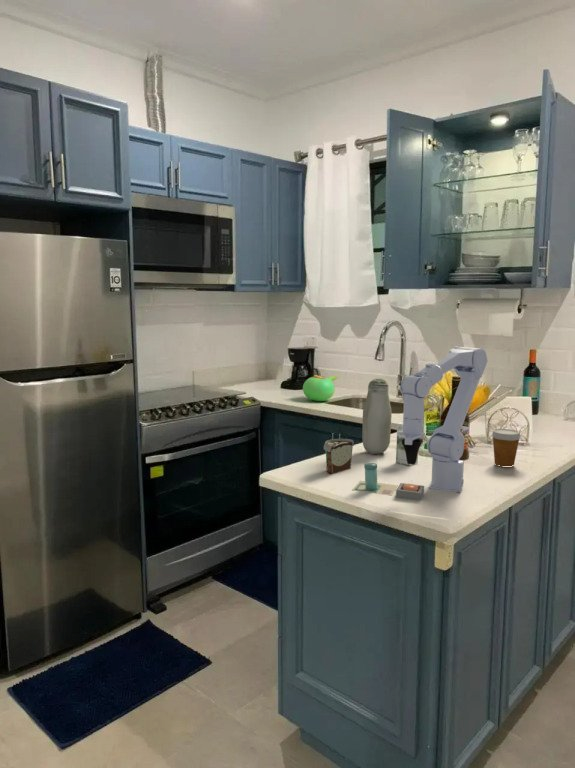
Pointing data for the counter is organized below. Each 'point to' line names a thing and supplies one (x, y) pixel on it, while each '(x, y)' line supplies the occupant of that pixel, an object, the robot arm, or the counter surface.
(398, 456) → the syrup box
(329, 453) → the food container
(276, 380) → the counter surface
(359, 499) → the counter surface
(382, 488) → the card sheet
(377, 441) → the grey bottle
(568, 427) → the counter surface
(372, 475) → the teal rounded cylinder
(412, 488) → the button
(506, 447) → the disposable coffee cup
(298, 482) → the counter surface
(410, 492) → the button housing
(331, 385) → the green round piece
